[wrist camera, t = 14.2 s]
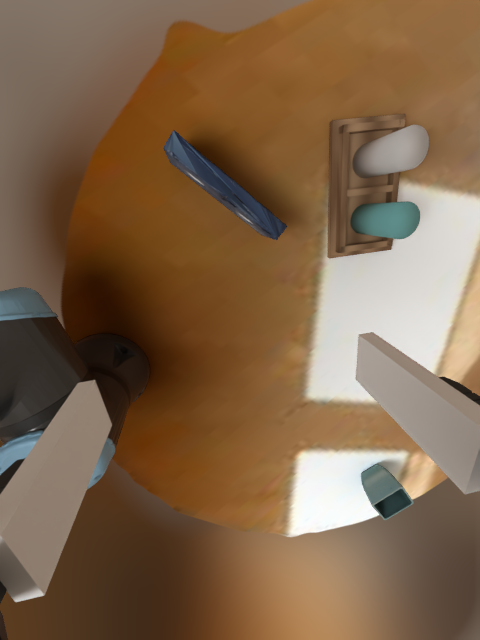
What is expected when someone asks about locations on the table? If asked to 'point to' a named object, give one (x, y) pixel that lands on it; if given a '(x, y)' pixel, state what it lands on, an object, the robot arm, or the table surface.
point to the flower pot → (384, 491)
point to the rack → (357, 183)
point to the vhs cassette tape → (221, 187)
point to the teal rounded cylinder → (386, 219)
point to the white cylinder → (392, 152)
